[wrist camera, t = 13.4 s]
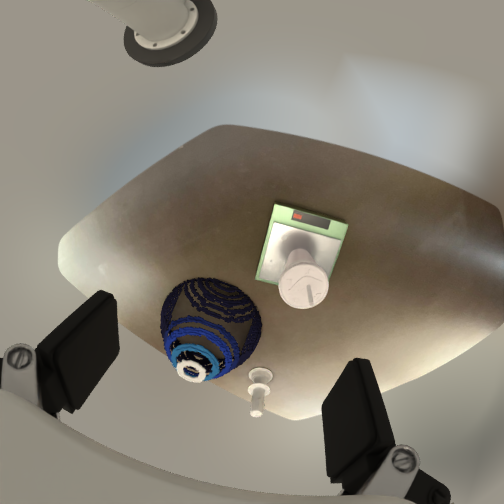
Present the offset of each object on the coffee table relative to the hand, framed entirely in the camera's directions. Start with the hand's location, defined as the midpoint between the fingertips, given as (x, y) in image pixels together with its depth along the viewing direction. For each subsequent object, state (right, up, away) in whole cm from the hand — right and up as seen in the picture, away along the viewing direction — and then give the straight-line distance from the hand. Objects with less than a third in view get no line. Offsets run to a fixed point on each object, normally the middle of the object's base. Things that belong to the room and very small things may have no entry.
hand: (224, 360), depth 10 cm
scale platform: (+9, +3, +34) cm, 35 cm away
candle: (+3, -23, +47) cm, 53 cm away
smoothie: (+8, +3, +33) cm, 34 cm away
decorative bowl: (-7, -10, +43) cm, 45 cm away
